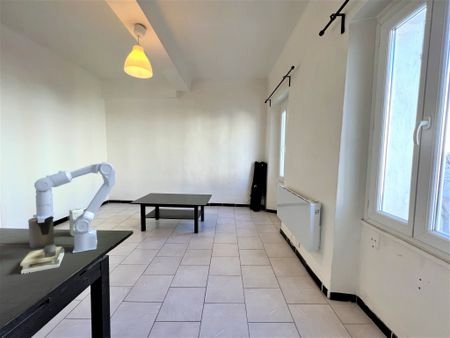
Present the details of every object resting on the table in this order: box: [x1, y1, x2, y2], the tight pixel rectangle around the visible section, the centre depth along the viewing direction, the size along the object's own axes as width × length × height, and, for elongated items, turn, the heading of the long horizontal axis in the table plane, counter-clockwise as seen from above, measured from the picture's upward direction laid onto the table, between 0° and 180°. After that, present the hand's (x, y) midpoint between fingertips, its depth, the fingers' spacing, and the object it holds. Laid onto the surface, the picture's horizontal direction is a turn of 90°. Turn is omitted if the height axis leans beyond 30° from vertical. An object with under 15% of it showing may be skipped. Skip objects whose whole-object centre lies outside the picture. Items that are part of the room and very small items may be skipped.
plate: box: [19, 243, 64, 267], centre depth 90 cm, size 11×12×5 cm
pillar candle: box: [27, 215, 55, 249], centre depth 110 cm, size 10×10×15 cm
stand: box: [20, 248, 65, 275], centre depth 91 cm, size 12×13×3 cm
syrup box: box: [68, 207, 85, 237], centre depth 124 cm, size 6×6×14 cm
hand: (45, 234), depth 97 cm, fingers closed
